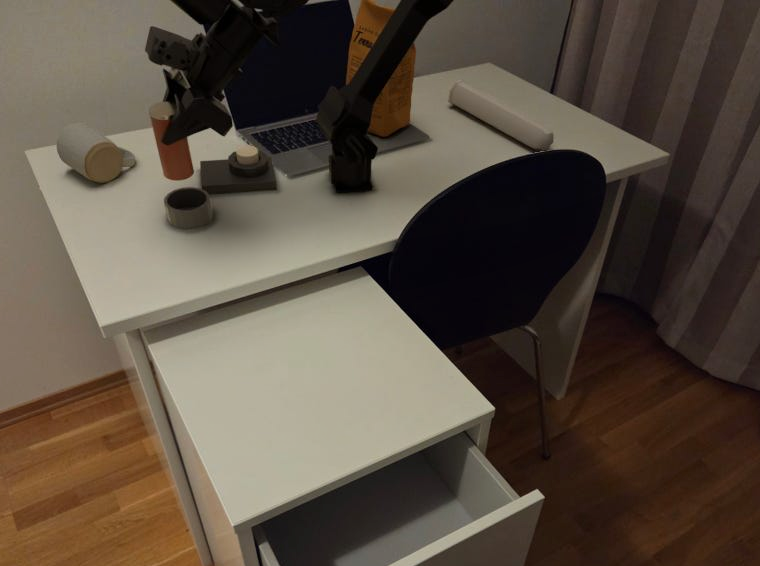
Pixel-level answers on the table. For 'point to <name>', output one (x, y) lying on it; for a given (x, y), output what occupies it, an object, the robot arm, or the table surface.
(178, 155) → the orange metal cylinder
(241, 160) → the release button
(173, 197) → the capsule holder
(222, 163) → the plate with ring holder
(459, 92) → the tube
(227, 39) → the robot arm
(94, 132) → the ceramic mug
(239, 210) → the table surface
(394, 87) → the coffee package
